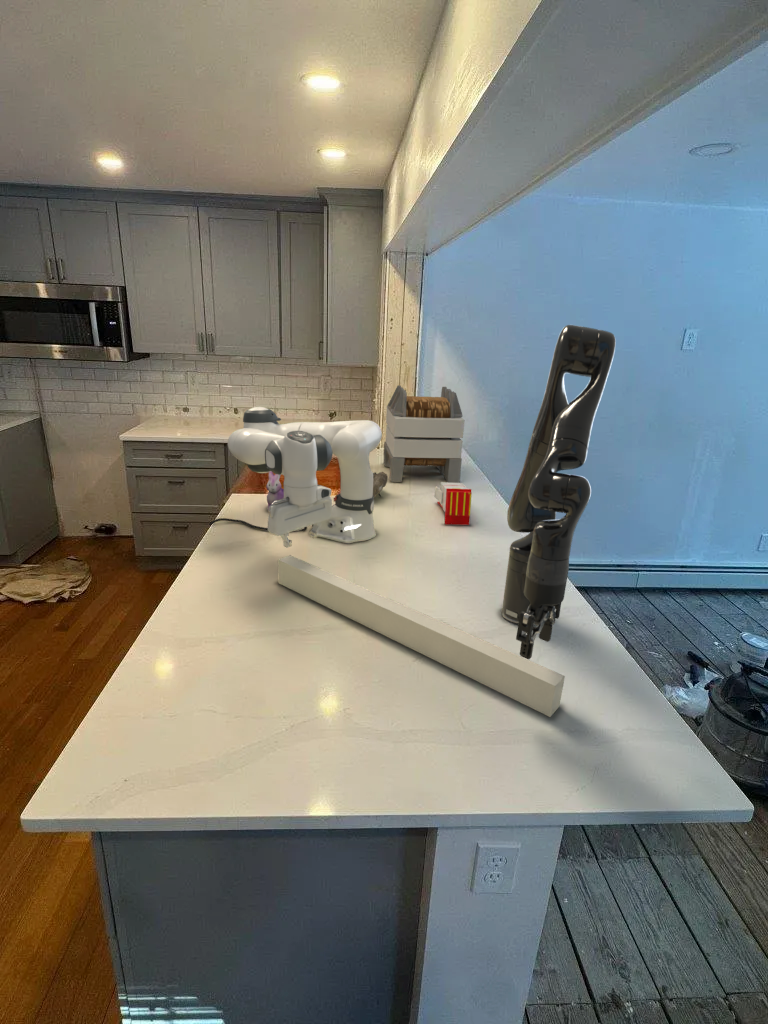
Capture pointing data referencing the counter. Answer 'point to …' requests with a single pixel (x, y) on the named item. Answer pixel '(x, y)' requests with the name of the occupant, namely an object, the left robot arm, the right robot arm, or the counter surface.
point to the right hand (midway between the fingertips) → (535, 648)
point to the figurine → (274, 489)
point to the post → (428, 636)
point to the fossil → (379, 482)
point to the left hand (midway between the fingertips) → (300, 541)
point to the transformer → (424, 434)
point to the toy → (454, 502)
